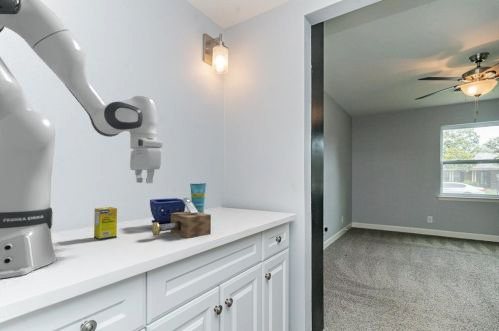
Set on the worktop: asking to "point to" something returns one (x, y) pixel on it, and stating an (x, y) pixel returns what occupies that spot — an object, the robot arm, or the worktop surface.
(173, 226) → the pin
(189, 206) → the keeper
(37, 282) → the worktop surface
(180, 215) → the block
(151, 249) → the worktop surface
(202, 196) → the tube
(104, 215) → the supplement box
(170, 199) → the flower pot
